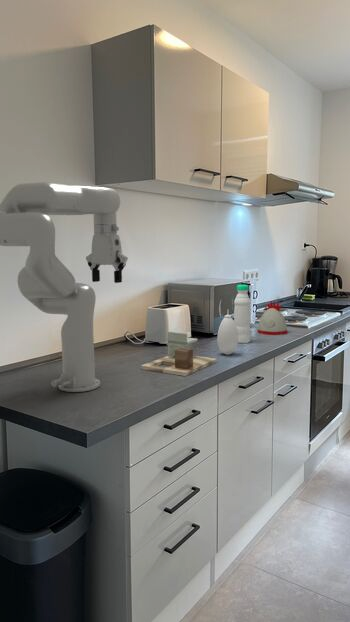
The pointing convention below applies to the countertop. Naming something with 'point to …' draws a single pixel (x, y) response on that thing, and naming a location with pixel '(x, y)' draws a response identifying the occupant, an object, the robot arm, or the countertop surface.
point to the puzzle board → (197, 365)
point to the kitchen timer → (272, 321)
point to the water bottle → (242, 314)
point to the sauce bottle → (227, 335)
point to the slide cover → (177, 341)
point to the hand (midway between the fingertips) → (106, 282)
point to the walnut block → (183, 358)
